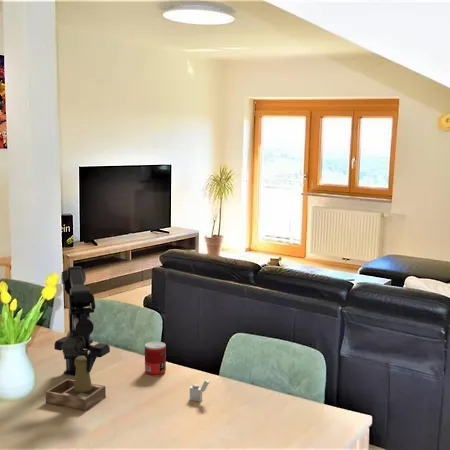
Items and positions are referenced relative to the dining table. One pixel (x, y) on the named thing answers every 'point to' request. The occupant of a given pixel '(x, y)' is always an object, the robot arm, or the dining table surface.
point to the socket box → (74, 395)
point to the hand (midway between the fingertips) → (82, 371)
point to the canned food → (155, 358)
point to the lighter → (198, 391)
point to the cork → (82, 375)
